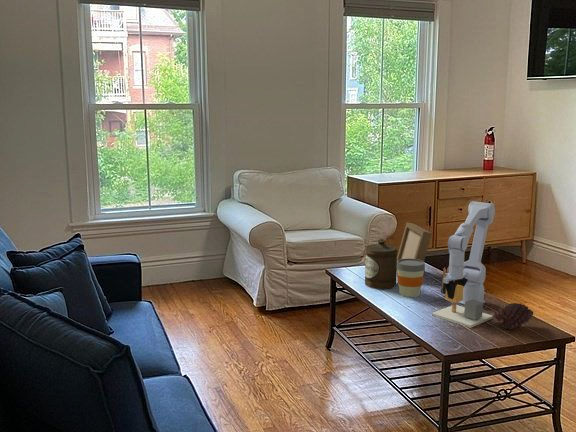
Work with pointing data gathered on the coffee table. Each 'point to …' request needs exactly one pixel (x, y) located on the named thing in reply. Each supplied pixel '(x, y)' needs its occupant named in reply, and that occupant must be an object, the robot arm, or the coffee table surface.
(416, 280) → the reusable coffee cup
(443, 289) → the ammunition clip
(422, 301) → the coffee table surface
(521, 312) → the pine cone
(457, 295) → the amber foam cube
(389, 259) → the wooden container
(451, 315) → the board
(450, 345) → the coffee table surface
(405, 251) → the photo frame
